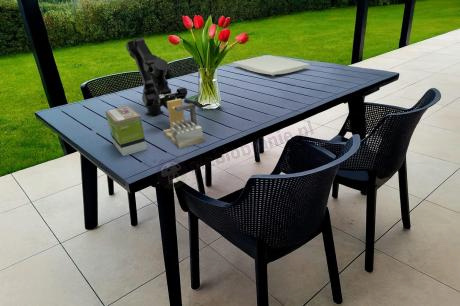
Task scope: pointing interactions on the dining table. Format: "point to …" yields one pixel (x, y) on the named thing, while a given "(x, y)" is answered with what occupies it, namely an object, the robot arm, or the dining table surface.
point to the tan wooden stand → (185, 129)
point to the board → (271, 65)
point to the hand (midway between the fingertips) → (172, 113)
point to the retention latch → (173, 114)
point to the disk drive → (194, 101)
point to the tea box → (126, 130)
